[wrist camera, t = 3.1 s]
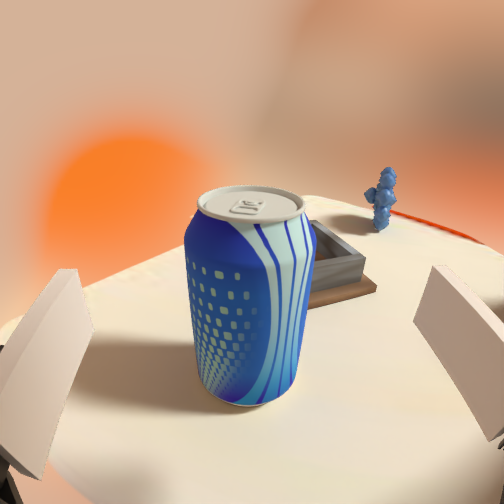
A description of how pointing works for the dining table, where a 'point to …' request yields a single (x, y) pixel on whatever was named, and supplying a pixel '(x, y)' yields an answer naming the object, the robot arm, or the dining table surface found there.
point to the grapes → (382, 198)
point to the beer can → (249, 290)
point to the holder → (336, 270)
